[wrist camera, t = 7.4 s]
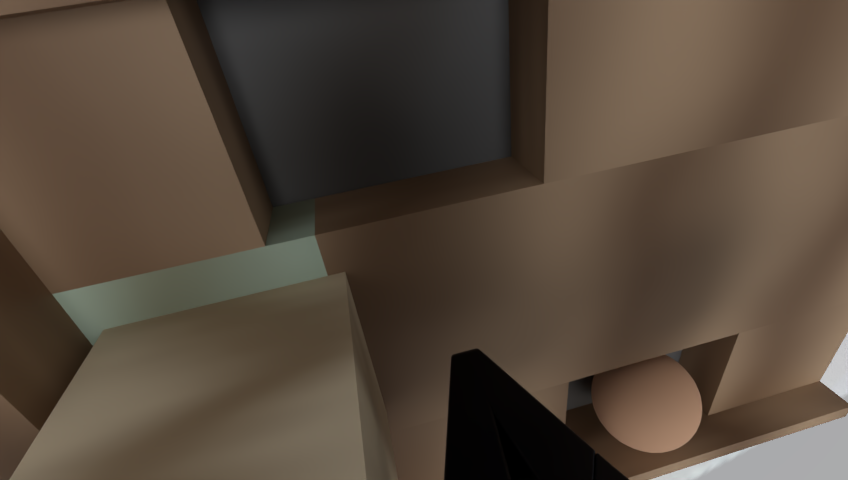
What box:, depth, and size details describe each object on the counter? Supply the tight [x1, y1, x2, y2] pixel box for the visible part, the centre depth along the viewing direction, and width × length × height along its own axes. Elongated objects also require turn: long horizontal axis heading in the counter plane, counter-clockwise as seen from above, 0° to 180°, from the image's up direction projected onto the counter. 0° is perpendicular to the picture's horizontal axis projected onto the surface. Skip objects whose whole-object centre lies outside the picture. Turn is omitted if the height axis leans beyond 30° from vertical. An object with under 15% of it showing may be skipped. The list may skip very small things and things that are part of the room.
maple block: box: [9, 272, 398, 480], centre depth 8 cm, size 5×5×5 cm
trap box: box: [0, 0, 848, 480], centre depth 11 cm, size 23×17×4 cm
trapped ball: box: [591, 355, 702, 453], centre depth 15 cm, size 3×3×3 cm
